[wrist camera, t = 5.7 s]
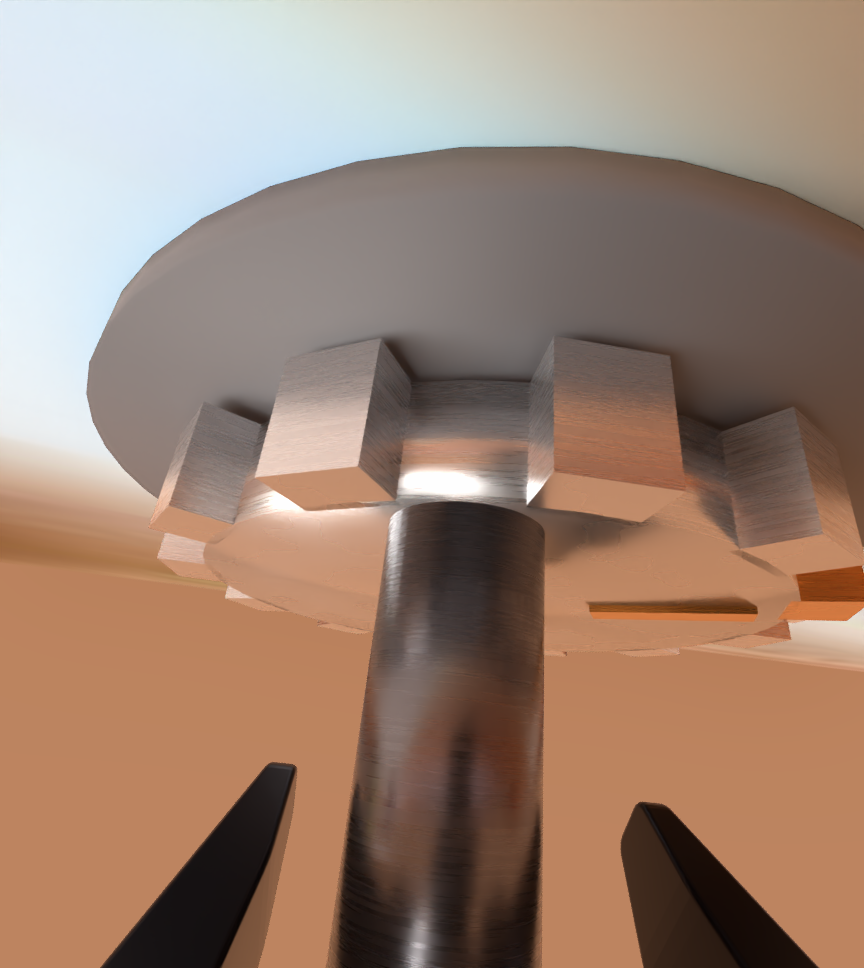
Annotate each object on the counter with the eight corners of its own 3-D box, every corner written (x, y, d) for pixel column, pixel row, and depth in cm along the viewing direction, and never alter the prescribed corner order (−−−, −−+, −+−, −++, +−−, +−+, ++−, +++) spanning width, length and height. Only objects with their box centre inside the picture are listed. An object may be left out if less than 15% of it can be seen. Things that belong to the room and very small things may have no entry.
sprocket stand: (1170, -694, 2) (1630, -735, 1) (932, 557, 15) (958, 638, 14) (-24, 418, 13) (-70, 502, 12) (428, 596, 26) (423, 644, 25)
